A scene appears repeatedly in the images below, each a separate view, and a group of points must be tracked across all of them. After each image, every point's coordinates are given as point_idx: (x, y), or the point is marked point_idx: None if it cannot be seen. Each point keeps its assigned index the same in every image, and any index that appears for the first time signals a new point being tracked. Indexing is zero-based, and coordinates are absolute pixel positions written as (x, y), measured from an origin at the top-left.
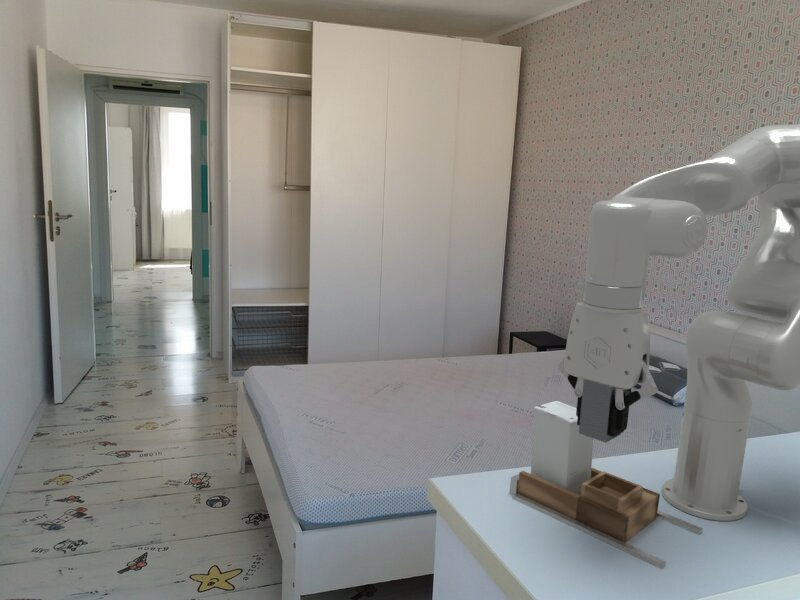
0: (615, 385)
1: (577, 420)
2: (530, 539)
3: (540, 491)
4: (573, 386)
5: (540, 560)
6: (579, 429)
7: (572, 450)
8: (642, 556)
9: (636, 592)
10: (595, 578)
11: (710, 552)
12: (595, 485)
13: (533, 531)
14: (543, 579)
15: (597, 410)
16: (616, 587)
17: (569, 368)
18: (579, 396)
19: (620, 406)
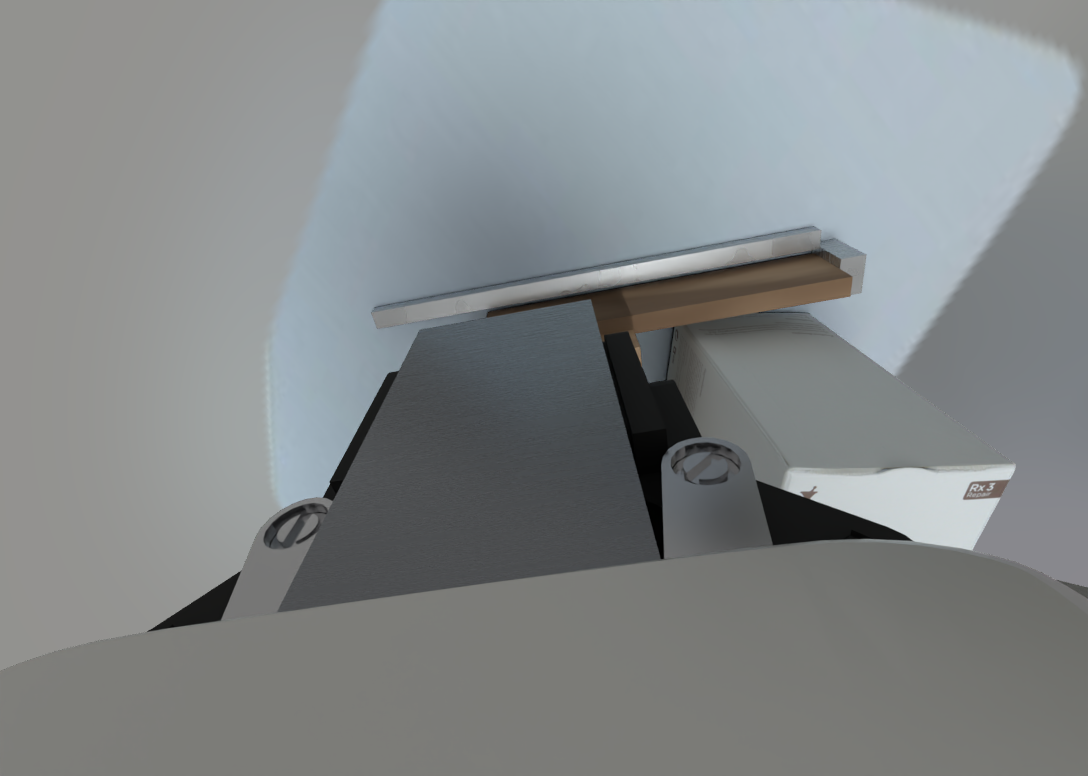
0: (107, 652)
1: (631, 341)
2: (640, 102)
3: (751, 281)
4: (797, 504)
5: (548, 39)
6: (590, 308)
7: (734, 413)
8: (419, 302)
9: (328, 174)
10: (413, 123)
11: None
12: None
13: (662, 147)
14: None
15: (468, 410)
16: (362, 143)
17: (979, 609)
18: (680, 447)
19: (305, 524)
